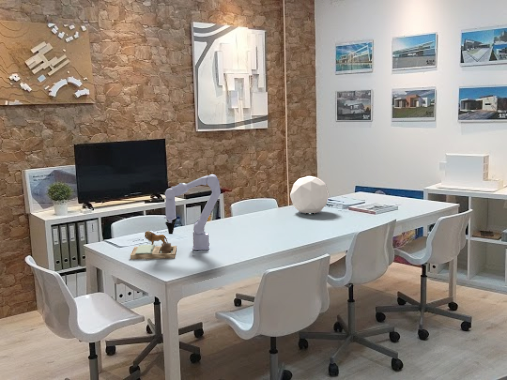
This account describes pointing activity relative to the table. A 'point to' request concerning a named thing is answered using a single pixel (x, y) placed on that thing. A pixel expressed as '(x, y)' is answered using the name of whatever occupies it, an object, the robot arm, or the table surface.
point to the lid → (145, 249)
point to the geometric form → (309, 194)
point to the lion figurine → (154, 237)
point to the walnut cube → (166, 247)
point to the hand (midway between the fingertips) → (171, 232)
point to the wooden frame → (155, 253)
